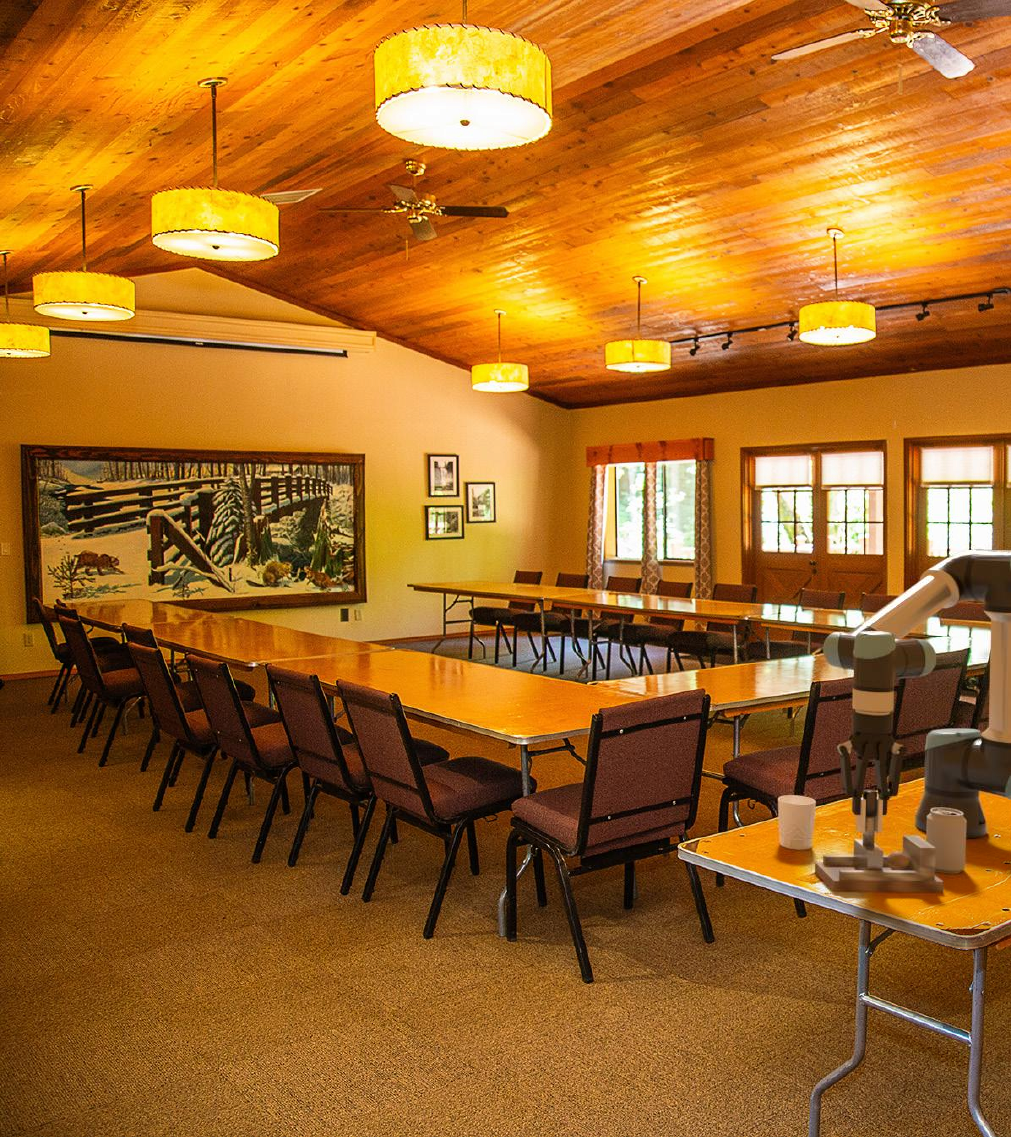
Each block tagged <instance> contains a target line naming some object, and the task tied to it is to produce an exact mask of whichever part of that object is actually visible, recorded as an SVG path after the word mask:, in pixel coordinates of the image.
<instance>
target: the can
mask: <svg viewBox="0 0 1011 1137" xmlns="http://www.w3.org/2000/svg"><path fill="white" fill-rule="evenodd" d="M930 811H931V813H930V814H929V815H927V828H926V831H925V833H926V834H925V841H926V842H928V843H929V844H931V845H932V846H934V847H935V848H936V854H935V872H937V873H941V874H951V875H952V874H953V875H954V874H959V873H961V872H962V871H963V870H964V869H965V868H966V852H967V850H966V848H967V847H966V846H967V838H966V824H967V821H966V819H965V818H964V817H963V812H961V811H959V810H956V809H951V808H942V807H938V808H932V809H930Z"/></svg>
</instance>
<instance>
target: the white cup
mask: <svg viewBox="0 0 1011 1137" xmlns="http://www.w3.org/2000/svg"><path fill="white" fill-rule="evenodd" d="M816 802H817V801H816V800H815V798H814V799H813V798H811V797H809V796H808V797H807V796H803V795H795V794H793V795H792V794H787V795H781V796H778V798H777V811H778V813H777V814H778V819H777V820H778V822H777V823H778V833H779V844H780V846H782V847H783V848H786V849H790V850H795V851H796V850H797V851H798V850H799V851H804V850H809V849H811V848H812V847H813V835H814V829H815V817H816V805H817V804H816Z"/></svg>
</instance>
